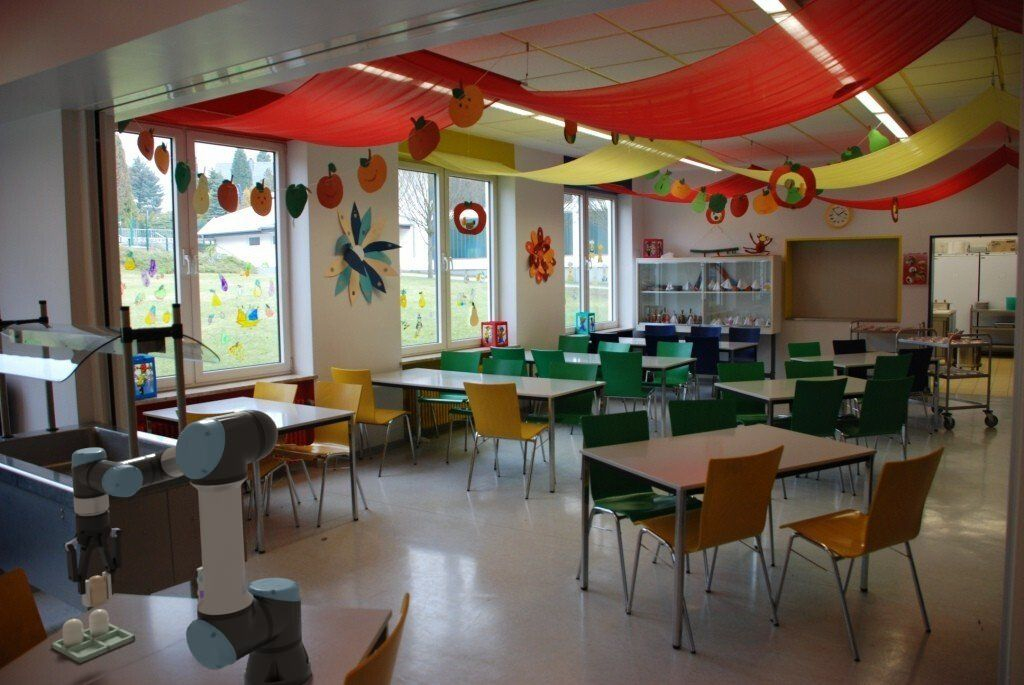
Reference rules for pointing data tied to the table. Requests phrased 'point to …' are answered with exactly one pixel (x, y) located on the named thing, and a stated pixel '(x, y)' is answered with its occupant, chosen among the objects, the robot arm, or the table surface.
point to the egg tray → (95, 644)
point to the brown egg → (98, 591)
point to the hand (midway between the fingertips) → (97, 601)
